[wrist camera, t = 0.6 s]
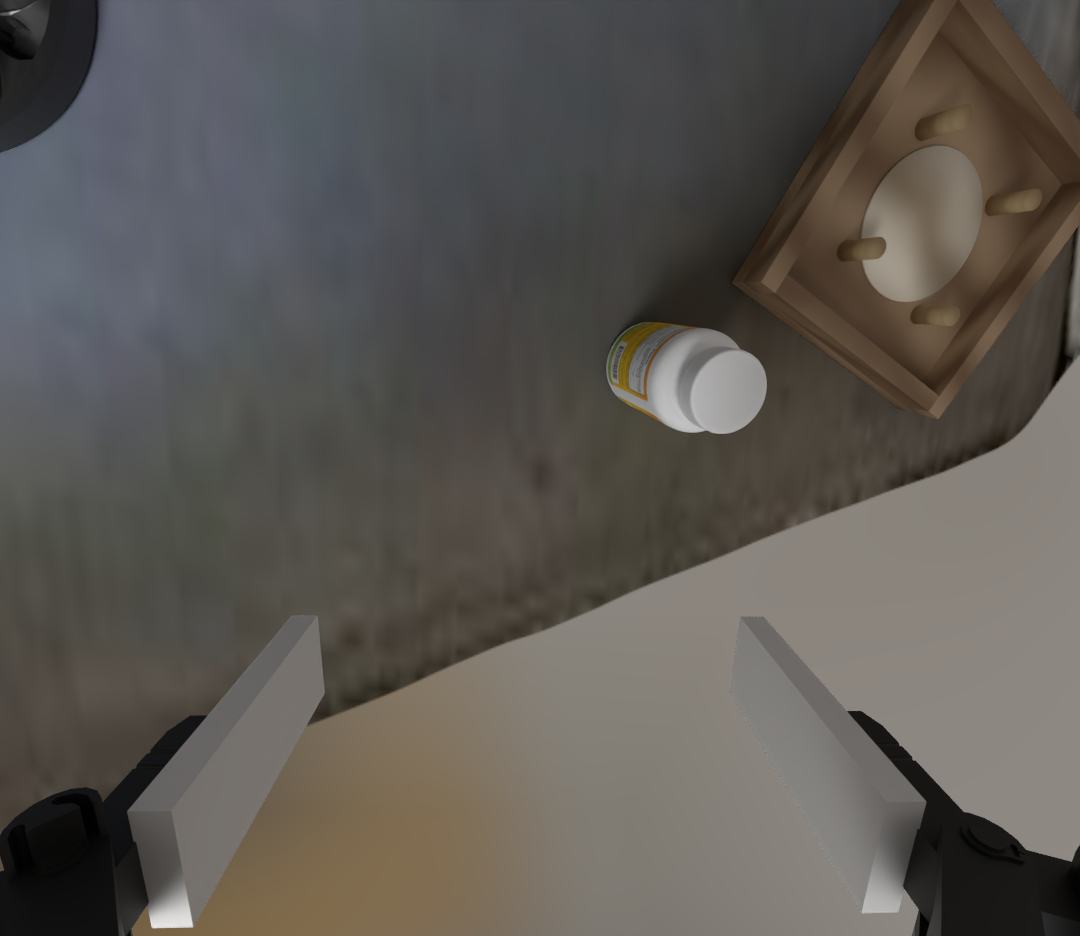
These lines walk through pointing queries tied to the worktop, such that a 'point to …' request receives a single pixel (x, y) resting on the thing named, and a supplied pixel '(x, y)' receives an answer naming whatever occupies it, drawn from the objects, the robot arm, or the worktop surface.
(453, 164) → the worktop surface
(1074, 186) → the pin tray
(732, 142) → the worktop surface
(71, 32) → the robot arm
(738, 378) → the supplement bottle
